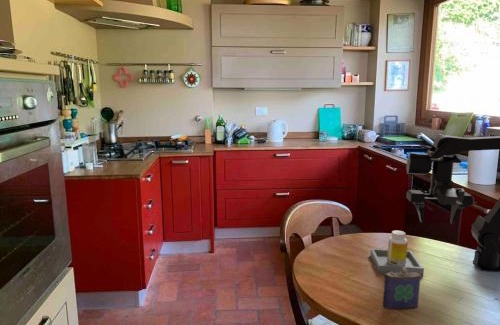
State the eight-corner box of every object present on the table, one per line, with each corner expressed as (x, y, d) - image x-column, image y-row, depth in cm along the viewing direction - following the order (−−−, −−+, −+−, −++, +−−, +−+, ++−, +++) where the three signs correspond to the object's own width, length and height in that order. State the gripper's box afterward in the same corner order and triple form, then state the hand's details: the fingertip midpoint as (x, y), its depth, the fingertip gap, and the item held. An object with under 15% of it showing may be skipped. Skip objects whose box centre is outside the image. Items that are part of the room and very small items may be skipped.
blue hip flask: (414, 303, 101) (418, 264, 99) (420, 309, 98) (424, 270, 96) (380, 304, 100) (383, 266, 98) (385, 310, 97) (389, 271, 95)
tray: (410, 257, 128) (411, 250, 128) (423, 276, 116) (423, 268, 115) (370, 255, 130) (370, 248, 129) (378, 273, 117) (379, 265, 117)
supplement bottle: (409, 266, 120) (412, 234, 119) (393, 267, 119) (396, 236, 117) (398, 258, 126) (400, 228, 124) (383, 260, 124) (385, 230, 122)
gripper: (418, 180, 114) (413, 230, 117) (485, 182, 112) (479, 233, 115) (408, 172, 125) (403, 218, 128) (468, 174, 123) (463, 221, 126)
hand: (436, 223), depth 124 cm, fingers open, 9 cm apart
